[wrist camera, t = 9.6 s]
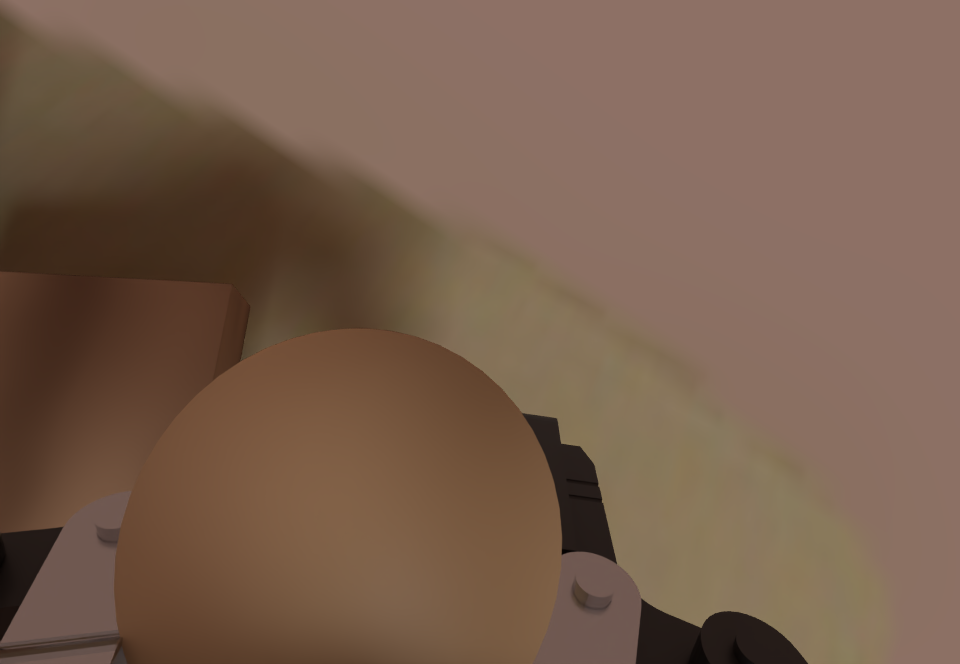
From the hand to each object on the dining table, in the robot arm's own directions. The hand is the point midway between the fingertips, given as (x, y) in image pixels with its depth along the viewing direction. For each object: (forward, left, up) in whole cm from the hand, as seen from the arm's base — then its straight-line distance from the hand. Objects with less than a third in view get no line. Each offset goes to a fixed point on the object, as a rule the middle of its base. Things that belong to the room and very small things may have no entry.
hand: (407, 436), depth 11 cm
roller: (0, -2, -5) cm, 5 cm away
